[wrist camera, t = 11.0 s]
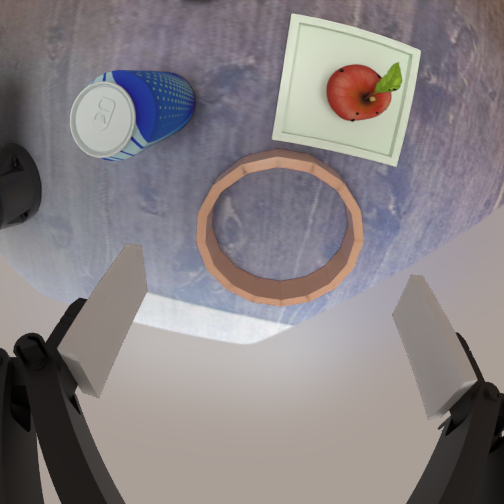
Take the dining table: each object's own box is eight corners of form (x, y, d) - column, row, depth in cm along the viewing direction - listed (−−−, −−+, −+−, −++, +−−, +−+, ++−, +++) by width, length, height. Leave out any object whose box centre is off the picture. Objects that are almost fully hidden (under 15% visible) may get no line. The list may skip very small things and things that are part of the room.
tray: (272, 136, 35) (271, 139, 33) (291, 17, 27) (291, 13, 25) (391, 162, 35) (396, 166, 33) (414, 51, 27) (420, 50, 25)
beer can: (208, 116, 34) (163, 139, 21) (153, 144, 37) (88, 184, 23) (180, 60, 31) (118, 50, 17) (127, 93, 33) (49, 107, 19)
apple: (366, 126, 32) (395, 142, 24) (314, 108, 32) (327, 116, 24) (384, 72, 28) (418, 70, 20) (331, 51, 28) (351, 39, 20)
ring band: (201, 274, 47) (194, 292, 43) (210, 139, 36) (202, 146, 32) (332, 294, 47) (336, 313, 43) (372, 168, 36) (383, 178, 32)
